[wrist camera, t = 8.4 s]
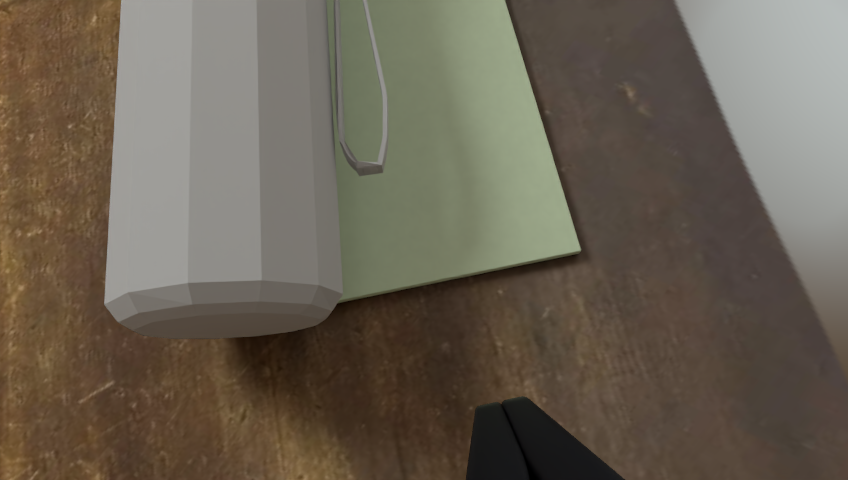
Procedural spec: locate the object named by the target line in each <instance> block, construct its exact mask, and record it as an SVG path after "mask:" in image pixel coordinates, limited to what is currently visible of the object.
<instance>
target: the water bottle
mask: <svg viewBox="0 0 848 480" xmlns="http://www.w3.org/2000/svg"><path fill="white" fill-rule="evenodd" d="M362 1H363V6H364V11H365V16H366V20H367V25H368V30H369V35H370V40H371V45H372V50H373V55H374V59H375V64H376V69H377V74H378V79H379V84H380V89H381V94H382V99H383V138H382V143H381V147H380V152H379V156H378V161H377V162H365V161H358V160H357V159H356V157H355V156H354V154H353V153H352V151H351V150H350V148H349V147H348V145H347V144H346V143H345V124H344V98H343V71H342V45H341V18H340V0H334V48H335V93H336V118H337V127H338V133H339V142H340V145H341V148H342V150H343V153H344V155H345V157H346V160H347V162H348V163H349V165H350V166H351V167H352V168H353V169H354V170H355V171H356V172H357V173H358V175H359V176H365V175H372V174H379V173H383V172H384V166H385V162H386V158H387V150H388V98H387V92H386V88H385V83H384V78H383V74H382V69H381V65H380V60H379V55H378V51H377V46H376V42H375V37H374V32H373V28H372V23H371V18H370V14H369V9H368V5H367V0H362ZM342 295H343V283H342V265H341V247H340V230H339V212H338V195H337V177H336V159H335V142H334V124H333V107H332V89H331V71H330V54H329V36H328V19H327V1H326V0H121V15H120V33H119V51H118V69H117V87H116V105H115V123H114V141H113V159H112V176H111V194H110V212H109V230H108V248H107V266H106V284H105V302H104V305H105V306H106V307H107V309H108V310H109V311H110V313H111V314H112V315H113V317H114V318H115V319H116V320H117V322H118V323H120V324H122V325H123V326H125V327H127V328H129V329H130V330H132V331H135V332H137V333H139V334H141V335H143V336H151V337H161V338H171V339H219V338H235V337H251V336H262V335H270V334H277V333H285V332H293V331H297V330H301V329H304V328H308V327H312V326H316V325H318V324H319V323H321V322H322V321H324V320H325V319H327V317H328V316H329V315H330V313H331V312H332V311H333V309H334V308H335V306H336V304H337V303H338V301H339V300H340V298H341V297H342Z"/></svg>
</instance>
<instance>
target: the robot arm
mask: <svg viewBox="0 0 848 480" xmlns="http://www.w3.org/2000/svg"><path fill="white" fill-rule="evenodd" d="M466 480H625V479H623V478H622V477H621V476H620V475H619V474H617V473H616V472H615V471H614V470H613V469H612V468H610V467H609V466H608V465H607V464H606V463H604V462H603V461H602V460H601V459H600V458H598V457H597V456H596V455H595V454H594V453H593V452H591V451H590V450H589V449H588V448H587V447H585V446H584V445H583V444H582V443H581V442H579V441H578V440H577V439H576V438H575V437H574V436H572V435H571V434H570V433H569V432H568V431H566V430H565V429H564V428H563V427H562V426H560V425H559V424H558V423H557V422H556V421H555V420H553V419H552V418H551V417H550V416H549V415H547V414H546V413H545V412H544V411H543V410H541V409H540V408H539V407H538V406H537V405H535V404H534V403H533V402H532V401H531V400H530V399H528V398H527V397H524V396H522V397H517V398H513V399H508V400H504V401H503V402H502V404H500V403H498V402H494V403H490V404H485V405H481V406H478V407H477V408H476V410H475V416H474V423H473V431H472V438H471V445H470V453H469V460H468V467H467V475H466Z"/></svg>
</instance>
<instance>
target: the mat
mask: <svg viewBox="0 0 848 480" xmlns="http://www.w3.org/2000/svg"><path fill="white" fill-rule="evenodd" d="M326 1H327V19H328V36H329V54H330V71H331V89H332V107H333V124H334V142H335V159H336V177H337V195H338V212H339V230H340V247H341V265H342V283H343V295H342V297H341V298H340V300H339V301H338V303H341V302H346V301H350V300H355V299H360V298H365V297H370V296H375V295H380V294H385V293H389V292H394V291H399V290H404V289H409V288H414V287H419V286H423V285H428V284H433V283H438V282H443V281H448V280H453V279H458V278H462V277H467V276H472V275H477V274H482V273H487V272H492V271H497V270H501V269H506V268H511V267H516V266H521V265H526V264H531V263H535V262H540V261H545V260H550V259H555V258H560V257H565V256H570V255H574V254H579V253H580V252H581V248H580V245H579V241H578V238H577V235H576V232H575V228H574V225H573V222H572V218H571V215H570V212H569V209H568V205H567V202H566V199H565V196H564V192H563V189H562V186H561V182H560V179H559V176H558V173H557V169H556V166H555V163H554V160H553V156H552V153H551V150H550V146H549V143H548V140H547V137H546V133H545V130H544V127H543V123H542V120H541V117H540V114H539V110H538V107H537V104H536V101H535V97H534V94H533V91H532V87H531V84H530V81H529V78H528V74H527V71H526V68H525V64H524V61H523V58H522V55H521V51H520V48H519V45H518V42H517V38H516V35H515V32H514V28H513V25H512V22H511V19H510V15H509V12H508V9H507V6H506V2H505V0H367V5H368V9H369V14H370V18H371V23H372V28H373V32H374V37H375V42H376V46H377V51H378V55H379V60H380V65H381V69H382V74H383V78H384V83H385V88H386V92H387V98H388V150H387V158H386V162H385V166H384V172H383V173H379V174H372V175H365V176H359V175H358V173H357V172H356V171H355V170H354V169H353V168H352V167H351V166H350V165H349V163H348V162H347V160H346V157H345V155H344V153H343V150H342V148H341V145H340V142H339V133H338V127H337V118H336V93H335V48H334V0H326ZM340 18H341V45H342V71H343V98H344V124H345V143H346V144H347V145H348V147H349V148H350V150H351V151H352V153H353V154H354V156H355V157H356V159H357V160H358V161H365V162H377V161H378V156H379V152H380V147H381V143H382V138H383V99H382V94H381V89H380V84H379V79H378V74H377V69H376V64H375V59H374V55H373V50H372V45H371V40H370V35H369V30H368V25H367V20H366V16H365V11H364V6H363V1H362V0H340Z"/></svg>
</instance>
